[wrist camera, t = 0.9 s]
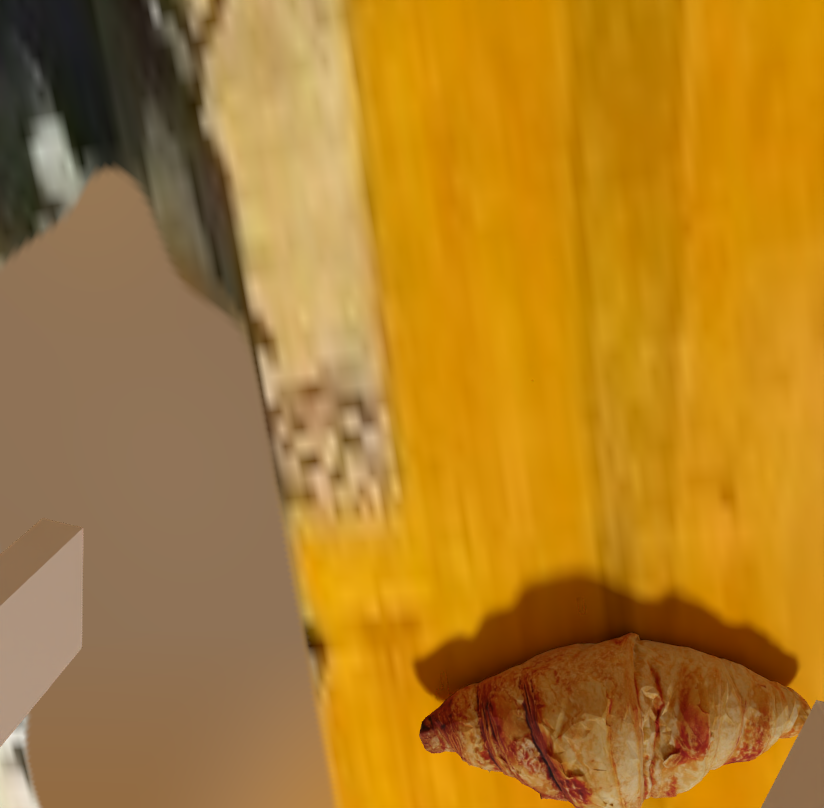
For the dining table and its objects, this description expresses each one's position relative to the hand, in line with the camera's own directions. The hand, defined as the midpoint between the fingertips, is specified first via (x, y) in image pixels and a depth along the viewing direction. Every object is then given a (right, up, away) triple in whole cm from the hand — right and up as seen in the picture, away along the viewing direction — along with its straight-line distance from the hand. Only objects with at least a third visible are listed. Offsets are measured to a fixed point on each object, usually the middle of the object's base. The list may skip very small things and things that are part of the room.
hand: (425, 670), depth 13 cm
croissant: (+11, -12, +30) cm, 34 cm away
